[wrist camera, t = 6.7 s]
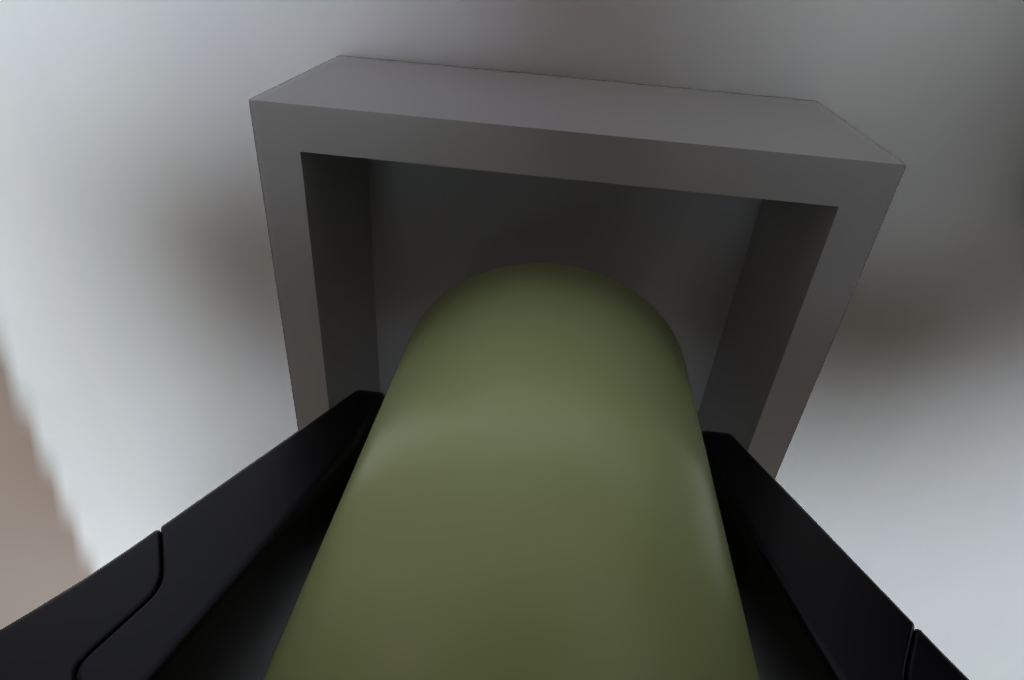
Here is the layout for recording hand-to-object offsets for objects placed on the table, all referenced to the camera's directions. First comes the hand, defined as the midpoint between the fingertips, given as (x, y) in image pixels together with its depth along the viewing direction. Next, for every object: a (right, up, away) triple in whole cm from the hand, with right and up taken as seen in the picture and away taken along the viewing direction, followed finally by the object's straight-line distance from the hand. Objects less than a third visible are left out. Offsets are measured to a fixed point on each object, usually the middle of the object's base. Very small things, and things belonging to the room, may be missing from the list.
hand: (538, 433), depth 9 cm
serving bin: (0, +2, +4) cm, 5 cm away
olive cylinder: (0, +1, +1) cm, 1 cm away
